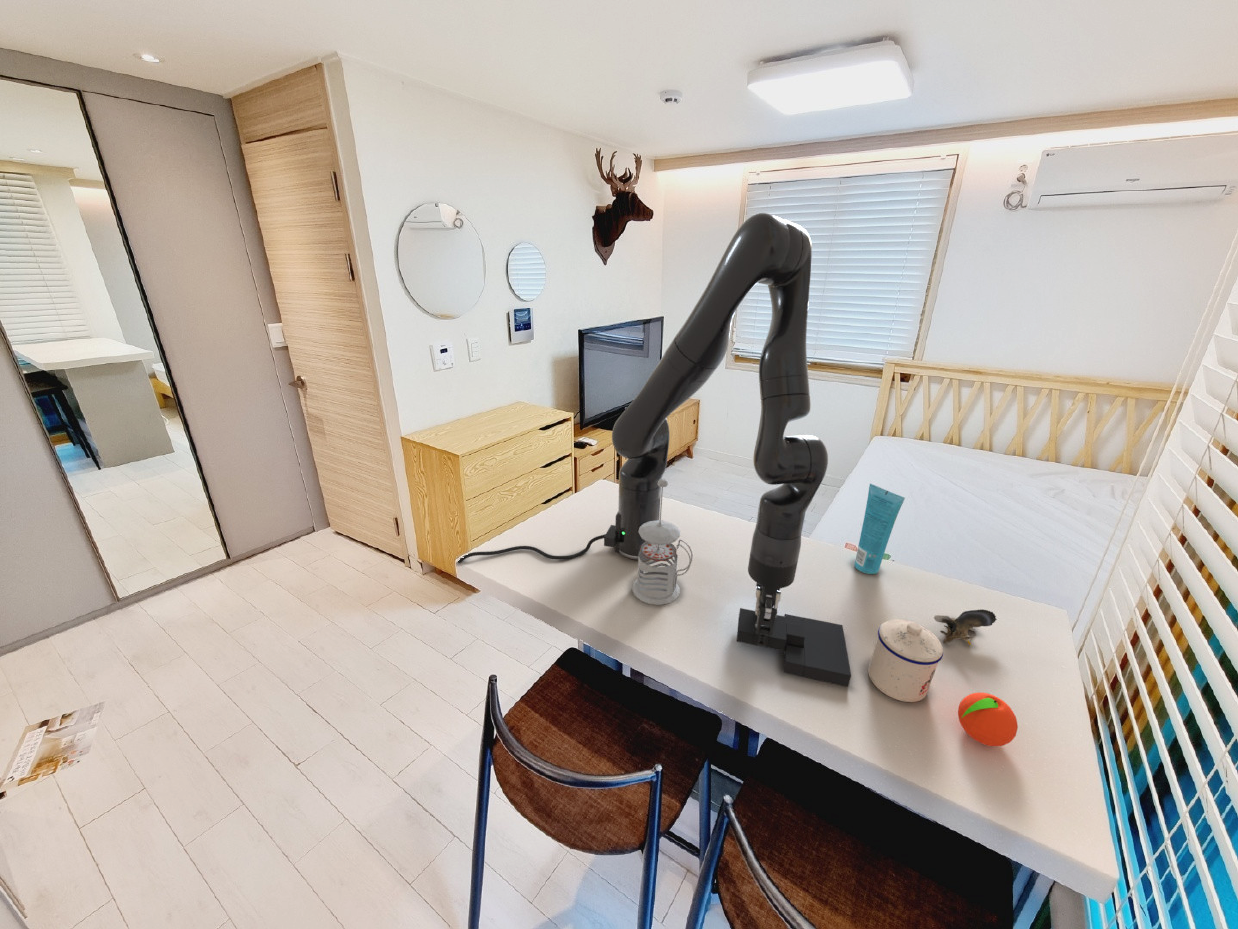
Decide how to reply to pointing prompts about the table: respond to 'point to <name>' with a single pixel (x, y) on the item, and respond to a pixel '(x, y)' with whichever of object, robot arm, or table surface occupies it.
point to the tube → (876, 528)
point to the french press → (658, 580)
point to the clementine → (987, 719)
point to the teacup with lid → (904, 660)
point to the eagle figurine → (965, 624)
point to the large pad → (818, 652)
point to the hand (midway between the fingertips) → (760, 631)
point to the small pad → (781, 631)
